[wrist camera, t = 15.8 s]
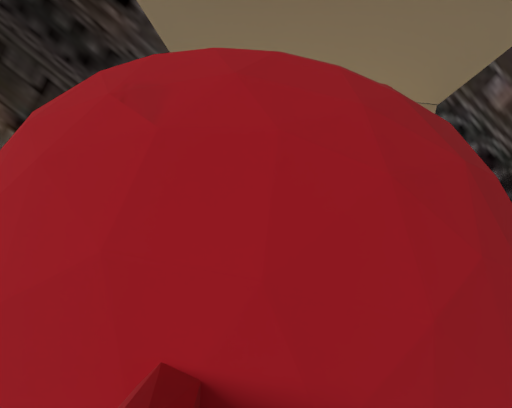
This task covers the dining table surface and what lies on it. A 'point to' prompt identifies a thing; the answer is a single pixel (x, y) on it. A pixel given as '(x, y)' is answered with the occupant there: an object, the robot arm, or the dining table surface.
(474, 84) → the dining table surface
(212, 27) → the lid
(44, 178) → the alarm clock
